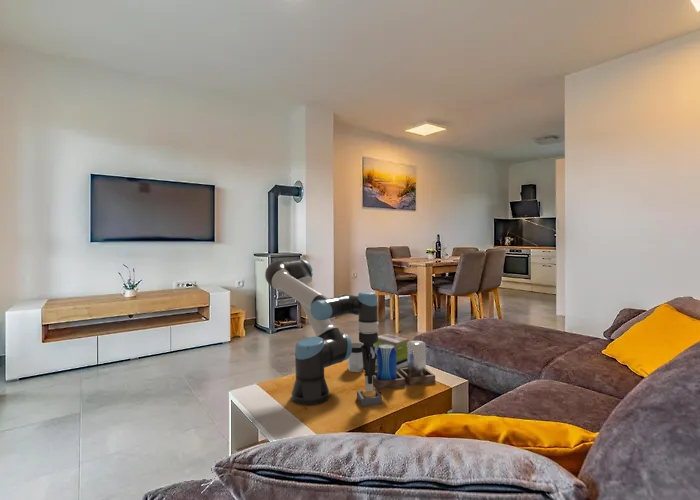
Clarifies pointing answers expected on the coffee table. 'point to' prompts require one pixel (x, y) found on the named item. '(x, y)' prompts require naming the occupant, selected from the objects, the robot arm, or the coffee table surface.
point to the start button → (369, 393)
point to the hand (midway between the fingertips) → (369, 390)
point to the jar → (355, 358)
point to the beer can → (386, 362)
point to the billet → (416, 358)
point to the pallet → (403, 380)
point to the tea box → (399, 346)
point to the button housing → (369, 399)
